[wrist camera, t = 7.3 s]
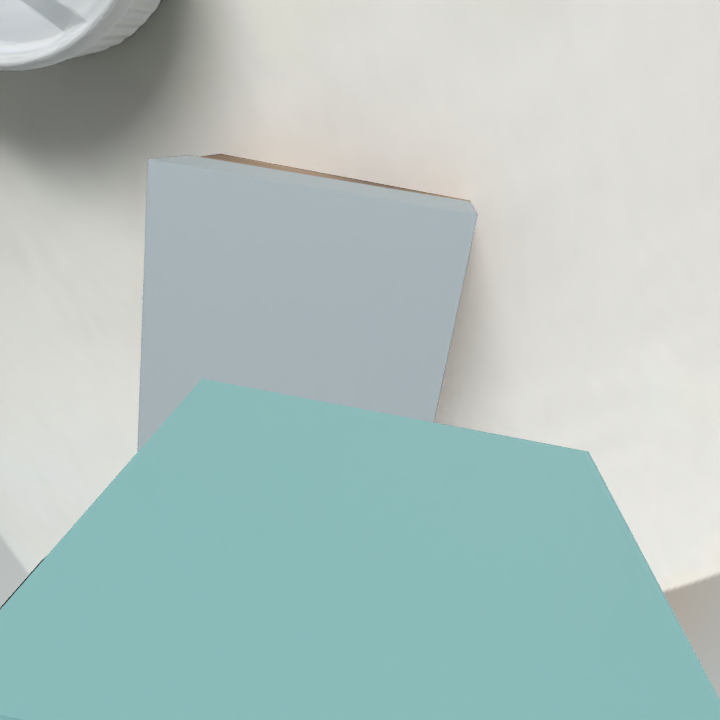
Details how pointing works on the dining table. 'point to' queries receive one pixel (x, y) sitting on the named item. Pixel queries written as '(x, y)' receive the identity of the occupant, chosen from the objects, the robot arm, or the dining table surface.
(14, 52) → the ramekin
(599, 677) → the teal block
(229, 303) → the slate tile
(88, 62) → the dining table surface
